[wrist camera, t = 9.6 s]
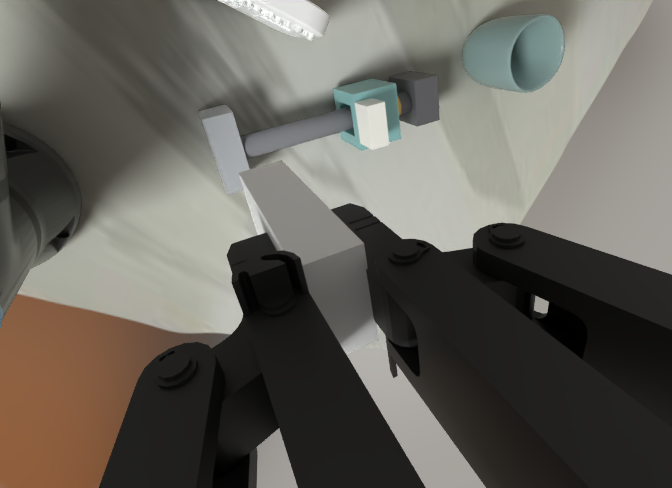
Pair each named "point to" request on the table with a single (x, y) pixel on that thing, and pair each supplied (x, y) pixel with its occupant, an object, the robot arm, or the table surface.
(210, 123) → the grey slab
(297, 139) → the grey rod
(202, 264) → the table surface
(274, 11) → the cable organizer
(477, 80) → the cup
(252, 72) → the table surface
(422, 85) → the block
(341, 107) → the sleeve
